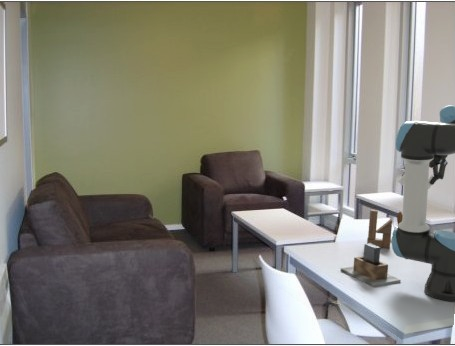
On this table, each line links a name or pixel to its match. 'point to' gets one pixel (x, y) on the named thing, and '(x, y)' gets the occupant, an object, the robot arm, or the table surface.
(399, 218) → the hand bell
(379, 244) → the wooden angular frame
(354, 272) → the post slot
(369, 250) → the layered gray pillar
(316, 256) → the table surface
